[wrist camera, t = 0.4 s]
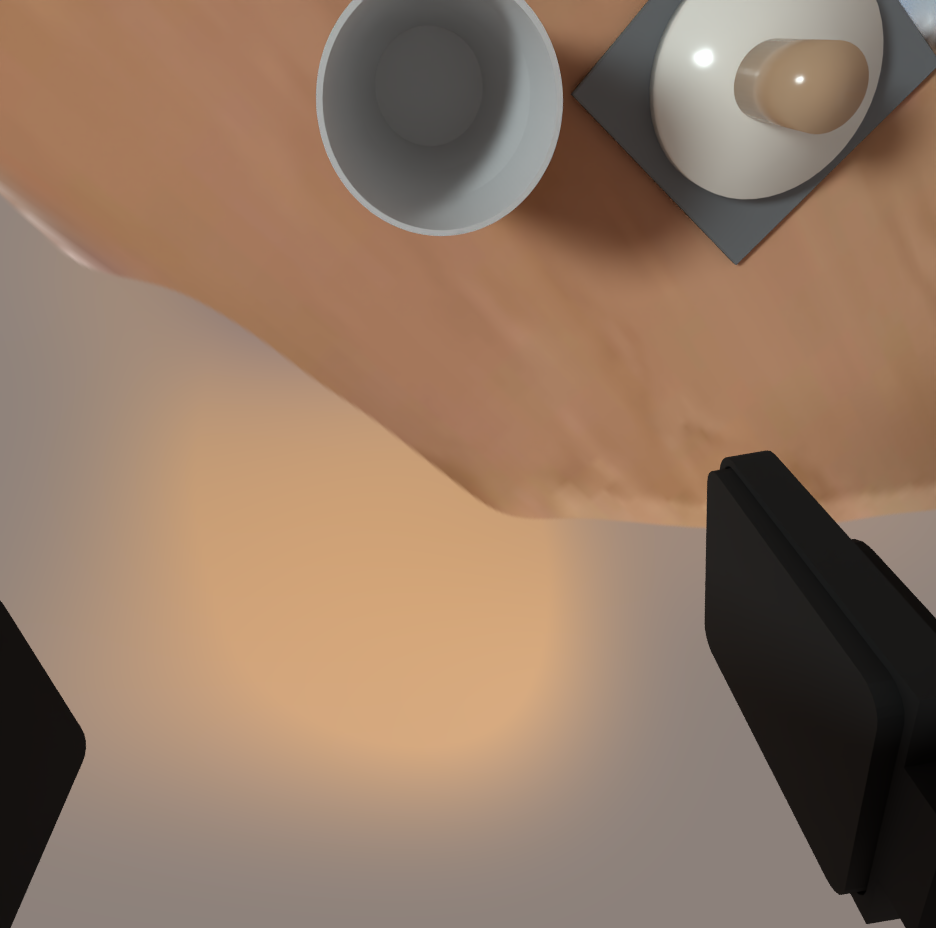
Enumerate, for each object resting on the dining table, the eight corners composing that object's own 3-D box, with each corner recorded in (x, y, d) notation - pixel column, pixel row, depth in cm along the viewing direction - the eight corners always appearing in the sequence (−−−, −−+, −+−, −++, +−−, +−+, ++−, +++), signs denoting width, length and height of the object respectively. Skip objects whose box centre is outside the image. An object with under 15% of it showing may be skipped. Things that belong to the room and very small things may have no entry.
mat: (782, -162, 29) (787, -164, 29) (935, 62, 34) (940, 63, 34) (570, 94, 33) (572, 94, 33) (733, 262, 38) (736, 265, 38)
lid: (781, -119, 30) (865, -151, 24) (910, 65, 34) (1006, 72, 28) (604, 92, 33) (643, 104, 28) (739, 237, 37) (797, 272, 32)
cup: (436, -70, 30) (451, -108, 21) (556, 98, 33) (610, 123, 25) (298, 78, 32) (262, 97, 24) (424, 220, 36) (433, 282, 27)
